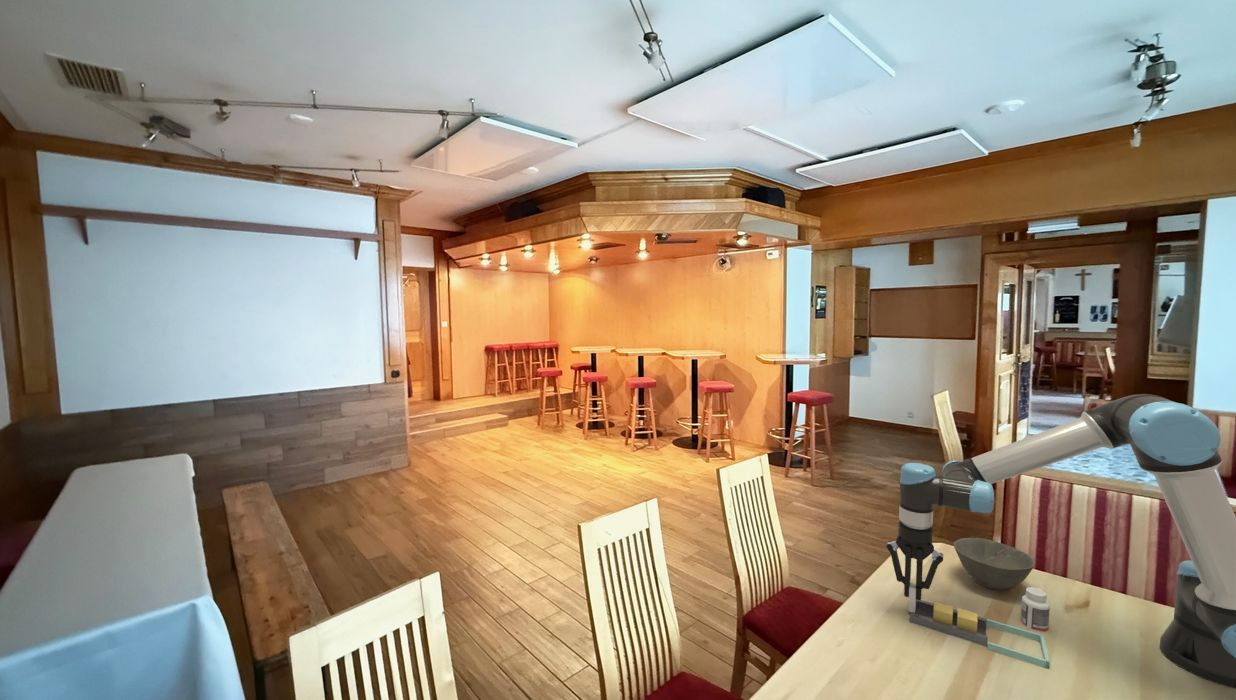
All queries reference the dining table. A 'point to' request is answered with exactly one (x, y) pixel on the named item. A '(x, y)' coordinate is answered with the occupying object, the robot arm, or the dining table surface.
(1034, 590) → the pill bottle
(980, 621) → the slot rail
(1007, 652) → the tray
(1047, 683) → the dining table surface
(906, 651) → the dining table surface
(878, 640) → the dining table surface
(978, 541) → the bowl
